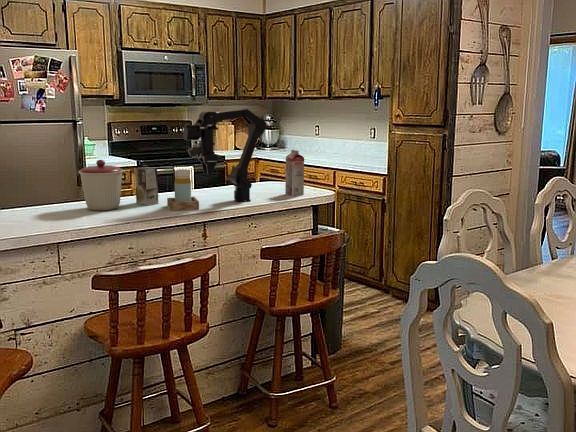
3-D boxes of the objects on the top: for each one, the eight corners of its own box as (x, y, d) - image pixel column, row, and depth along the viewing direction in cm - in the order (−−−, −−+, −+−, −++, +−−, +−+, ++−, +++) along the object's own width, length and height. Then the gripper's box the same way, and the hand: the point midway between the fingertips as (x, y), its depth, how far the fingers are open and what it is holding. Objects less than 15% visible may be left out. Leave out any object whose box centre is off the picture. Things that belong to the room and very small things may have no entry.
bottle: (187, 206, 242) (186, 171, 238) (172, 205, 243) (171, 171, 240) (193, 203, 248) (192, 169, 245) (178, 202, 250) (177, 169, 246)
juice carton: (292, 196, 276) (292, 151, 271) (285, 193, 282) (285, 149, 277) (303, 194, 279) (304, 150, 275) (296, 192, 285) (297, 149, 280)
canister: (94, 214, 229) (91, 163, 225) (73, 208, 241) (69, 159, 237) (133, 208, 242) (131, 159, 238) (111, 203, 254) (108, 156, 250)
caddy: (194, 204, 253) (194, 196, 252) (199, 209, 242) (198, 201, 241) (167, 205, 249) (167, 197, 248) (170, 210, 238) (170, 202, 237)
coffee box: (159, 203, 253) (157, 168, 250) (146, 205, 249) (145, 169, 245) (147, 201, 259) (146, 166, 256) (135, 202, 255) (133, 167, 251)
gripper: (185, 138, 254) (185, 172, 258) (192, 141, 237) (193, 178, 241) (209, 138, 258) (209, 172, 261) (218, 141, 241) (218, 177, 244)
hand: (207, 175), depth 252 cm, fingers open, 9 cm apart
